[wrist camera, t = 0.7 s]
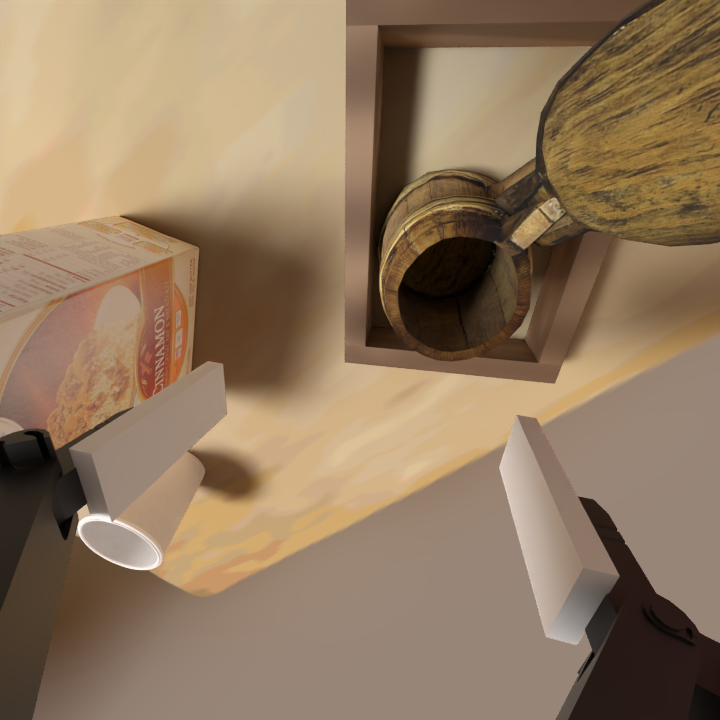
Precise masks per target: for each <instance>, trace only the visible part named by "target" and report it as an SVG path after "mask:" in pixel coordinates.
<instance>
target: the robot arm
mask: <svg viewBox="0 0 720 720" xmlns="http://www.w3.org/2000/svg"><path fill="white" fill-rule="evenodd" d="M226 414H227V405H226V393H225V381H224V369H223V364H222V363H217V362H211V361H207V362H206V363H204V364H203V365H201V366H199V367H198V368H196V369H195V370H193V371H191V372H190V373H188V374H187V375H185V376H183V377H182V378H180V379H179V380H177V381H175V382H174V383H172V384H171V385H169V386H168V387H166V388H164V389H163V390H161V391H160V392H158V393H156V394H155V395H153V396H152V397H150V398H148V399H147V400H145V401H144V402H142V403H140V404H139V405H137V406H136V407H131V408H129V409H126V410H123V411H121V412H118V413H116V414H114V415H113V416H111V417H109V418H108V419H106V420H105V421H104V422H101V423H100V424H98V425H96V426H95V427H94V428H93V429H90V430H88V431H87V432H85V433H83V434H82V435H80V436H78V437H77V438H75V439H73V440H72V441H70V442H69V443H67V444H65V445H64V446H62V447H60V448H59V449H57V450H55V448H54V445H53V442H52V439H51V436H50V433H49V432H48V431H47V430H45V429H38V428H35V429H25V430H21V431H16V432H13V433H10V434H8V435H5V436H2V437H1V438H0V720H32V718H33V713H34V709H35V705H36V701H37V697H38V692H39V688H40V683H41V679H42V675H43V671H44V667H45V662H46V658H47V654H48V650H49V645H50V641H51V636H52V632H53V628H54V624H55V619H56V615H57V611H58V607H59V602H60V598H61V594H62V589H63V585H64V581H65V576H66V573H67V568H68V564H69V560H70V555H71V551H72V547H73V543H74V538H75V534H76V530H77V525H78V521H79V519H78V514H77V511H78V510H79V509H81V508H82V507H83V506H84V505H86V504H87V506H88V509H89V512H90V515H91V517H92V518H96V519H100V520H103V521H107V522H111V523H112V522H113V521H114V520H115V519H116V518H117V517H118V516H119V515H120V514H121V513H123V512H124V511H125V510H126V509H127V508H128V507H129V506H130V505H131V504H132V503H133V502H134V501H135V500H136V499H137V498H138V497H139V496H141V495H142V494H143V493H144V492H145V491H146V490H147V489H148V488H149V487H150V486H151V485H152V484H153V483H154V482H155V481H156V480H157V479H159V478H160V477H161V476H162V475H163V474H164V473H165V472H166V471H167V470H168V469H169V468H170V467H171V466H172V465H173V464H174V463H175V462H177V461H178V460H179V459H180V458H181V457H182V456H183V455H184V454H185V453H186V452H187V451H188V450H189V449H190V448H191V447H192V446H193V445H195V444H196V443H197V442H198V441H199V440H200V439H201V438H202V437H203V436H204V435H205V434H206V433H207V432H208V431H209V430H210V429H211V428H213V427H214V426H215V425H216V424H217V423H218V422H219V421H220V420H221V419H222V418H223V417H224V416H225V415H226ZM499 468H500V472H501V476H502V479H503V483H504V486H505V490H506V494H507V497H508V501H509V505H510V508H511V512H512V516H513V519H514V522H515V527H516V530H517V533H518V537H519V541H520V545H521V548H522V552H523V556H524V559H525V563H526V567H527V570H528V574H529V578H530V581H531V585H532V588H533V592H534V595H535V599H536V603H537V607H538V610H539V614H540V618H541V621H542V625H543V628H544V632H545V635H546V637H548V638H552V639H556V640H559V641H563V642H567V643H571V644H574V645H577V644H578V643H579V641H580V640H581V638H582V636H583V635H584V633H585V631H586V634H587V637H588V639H589V642H590V645H591V647H592V652H591V653H590V654H589V656H588V657H587V659H586V660H585V662H584V663H583V665H582V667H581V668H580V670H579V671H578V674H579V675H578V677H577V679H576V681H575V683H574V685H573V687H572V689H571V691H570V693H569V695H568V697H567V699H566V701H565V703H564V705H563V706H562V708H561V710H560V712H559V715H558V716H557V718H556V720H720V643H718V642H716V641H714V640H712V639H710V638H708V637H706V636H704V635H702V634H701V633H699V631H698V629H697V628H696V626H695V624H693V622H692V621H691V620H690V619H689V618H688V617H687V616H686V614H685V613H684V612H683V611H682V610H680V609H679V608H678V607H676V606H675V605H674V604H673V603H671V602H670V601H669V600H667V599H665V598H663V597H661V596H660V595H658V594H656V592H655V591H654V589H653V587H652V586H651V584H650V582H649V581H648V579H647V577H646V576H645V574H644V572H643V571H642V569H641V568H640V566H639V564H638V562H637V561H636V559H635V557H634V556H633V554H632V552H631V551H630V549H629V547H628V546H627V545H625V541H624V539H623V537H622V536H621V534H620V533H619V532H617V528H616V526H615V524H614V523H613V521H612V519H611V518H610V516H609V514H608V513H607V512H606V511H605V510H604V509H603V508H602V507H601V506H600V505H599V504H597V502H596V501H594V500H593V499H588V498H583V497H578V496H577V494H576V493H575V491H574V489H573V487H572V485H571V483H570V481H569V479H568V477H567V476H566V474H565V472H564V470H563V468H562V466H561V464H560V462H559V460H558V459H557V457H556V455H555V453H554V451H553V449H552V447H551V445H550V444H549V442H548V440H547V438H546V436H545V434H544V432H543V430H542V428H541V426H540V425H539V423H538V421H537V419H536V418H531V417H526V416H520V415H516V418H515V421H514V424H513V427H512V430H511V433H510V436H509V439H508V442H507V445H506V448H505V452H504V455H503V458H502V461H501V464H500V467H499Z"/></svg>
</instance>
